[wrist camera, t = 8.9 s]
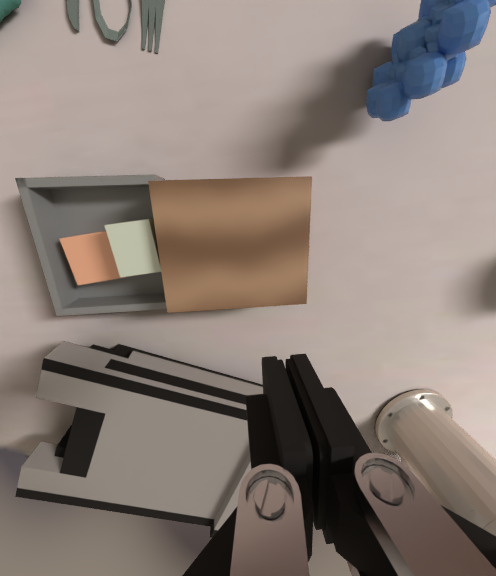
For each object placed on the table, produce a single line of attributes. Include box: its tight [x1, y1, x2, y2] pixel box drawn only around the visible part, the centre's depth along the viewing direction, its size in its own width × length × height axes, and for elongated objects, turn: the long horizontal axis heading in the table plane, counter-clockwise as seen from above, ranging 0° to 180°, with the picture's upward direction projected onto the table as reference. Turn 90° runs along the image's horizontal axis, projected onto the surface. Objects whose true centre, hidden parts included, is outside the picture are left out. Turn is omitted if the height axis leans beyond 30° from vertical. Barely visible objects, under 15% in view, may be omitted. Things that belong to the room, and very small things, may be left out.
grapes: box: [366, 0, 496, 121], centre depth 21 cm, size 12×7×12 cm, turn 152°
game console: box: [16, 341, 263, 537], centre depth 34 cm, size 21×32×8 cm, turn 68°
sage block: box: [104, 218, 161, 277], centre depth 26 cm, size 5×5×4 cm
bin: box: [15, 175, 167, 316], centre depth 27 cm, size 14×12×4 cm
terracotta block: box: [60, 231, 124, 285], centre depth 27 cm, size 5×5×2 cm
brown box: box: [148, 177, 312, 313], centre depth 27 cm, size 12×14×7 cm
